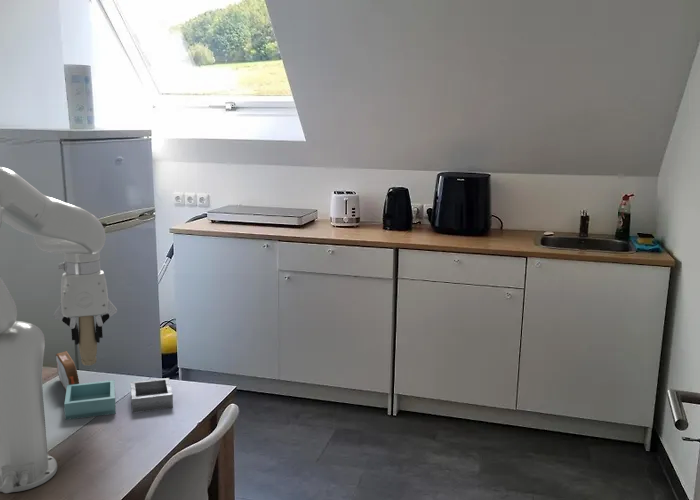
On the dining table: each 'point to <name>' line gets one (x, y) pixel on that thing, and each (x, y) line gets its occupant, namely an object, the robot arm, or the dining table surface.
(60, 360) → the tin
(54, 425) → the dining table surface
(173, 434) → the dining table surface
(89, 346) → the handle
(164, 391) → the collar
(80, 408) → the tray
